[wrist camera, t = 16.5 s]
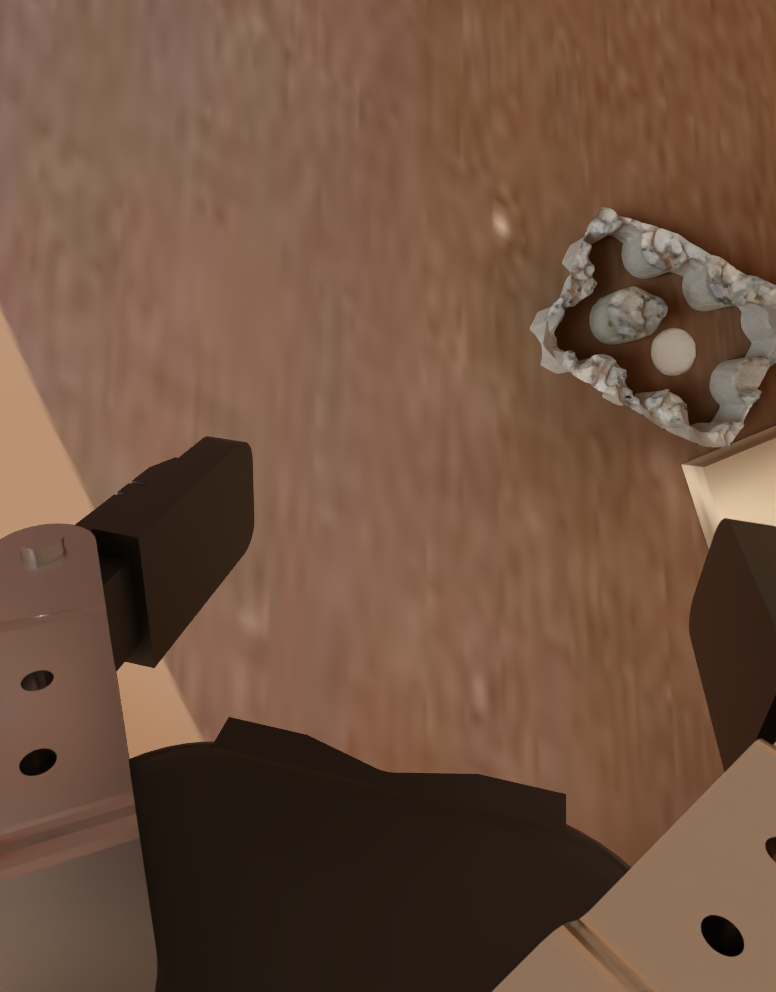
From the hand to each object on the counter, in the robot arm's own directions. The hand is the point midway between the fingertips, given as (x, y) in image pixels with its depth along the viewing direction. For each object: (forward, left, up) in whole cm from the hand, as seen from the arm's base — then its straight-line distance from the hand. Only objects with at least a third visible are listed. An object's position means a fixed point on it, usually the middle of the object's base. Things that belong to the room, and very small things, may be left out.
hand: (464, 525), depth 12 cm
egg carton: (0, +14, -21) cm, 25 cm away
